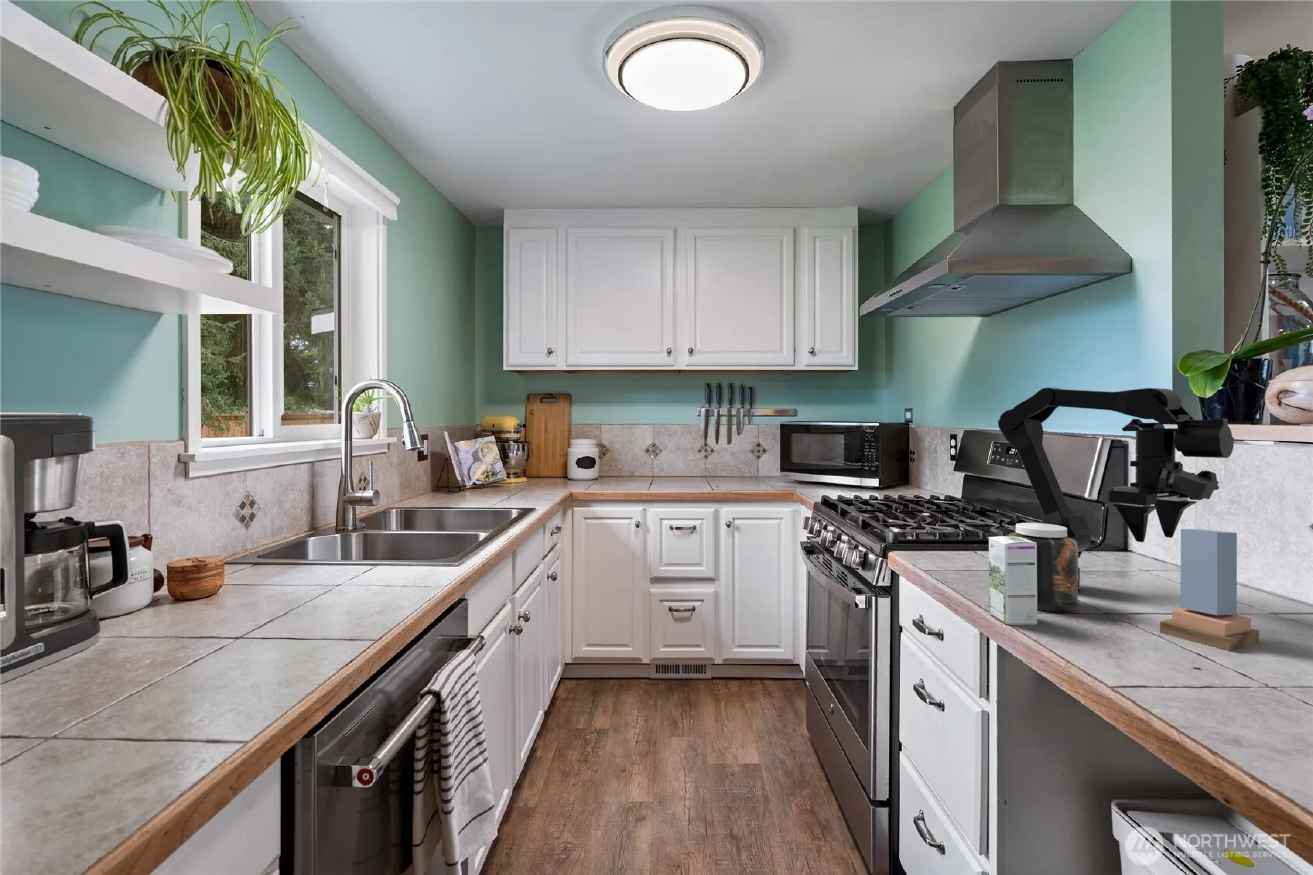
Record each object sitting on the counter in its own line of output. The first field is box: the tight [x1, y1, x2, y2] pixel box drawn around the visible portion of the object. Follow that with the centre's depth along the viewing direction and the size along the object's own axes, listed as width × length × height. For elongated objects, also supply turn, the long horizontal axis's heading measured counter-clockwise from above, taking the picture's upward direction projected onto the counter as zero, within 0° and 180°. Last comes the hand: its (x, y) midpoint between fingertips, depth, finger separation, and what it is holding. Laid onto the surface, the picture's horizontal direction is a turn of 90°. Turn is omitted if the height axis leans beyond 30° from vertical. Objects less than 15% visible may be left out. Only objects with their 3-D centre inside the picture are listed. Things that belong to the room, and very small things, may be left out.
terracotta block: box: [1171, 608, 1252, 637], centre depth 98 cm, size 7×7×2 cm
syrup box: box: [988, 535, 1038, 626], centre depth 108 cm, size 6×6×14 cm
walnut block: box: [1159, 618, 1260, 652], centre depth 98 cm, size 9×9×2 cm
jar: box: [1006, 522, 1079, 613], centre depth 117 cm, size 12×12×15 cm
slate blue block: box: [1180, 528, 1238, 615], centre depth 99 cm, size 5×5×13 cm
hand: (1154, 539), depth 112 cm, fingers open, 9 cm apart
